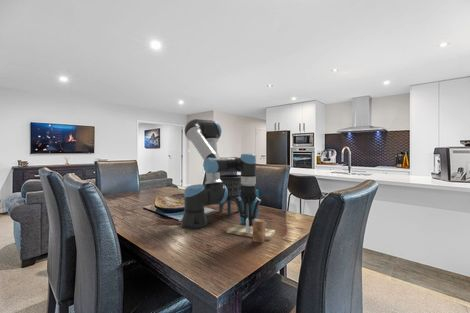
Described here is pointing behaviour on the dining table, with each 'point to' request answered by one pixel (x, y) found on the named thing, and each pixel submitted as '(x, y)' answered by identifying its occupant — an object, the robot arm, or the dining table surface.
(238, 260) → the dining table surface
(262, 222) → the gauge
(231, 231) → the board
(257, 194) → the block
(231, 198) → the planter
